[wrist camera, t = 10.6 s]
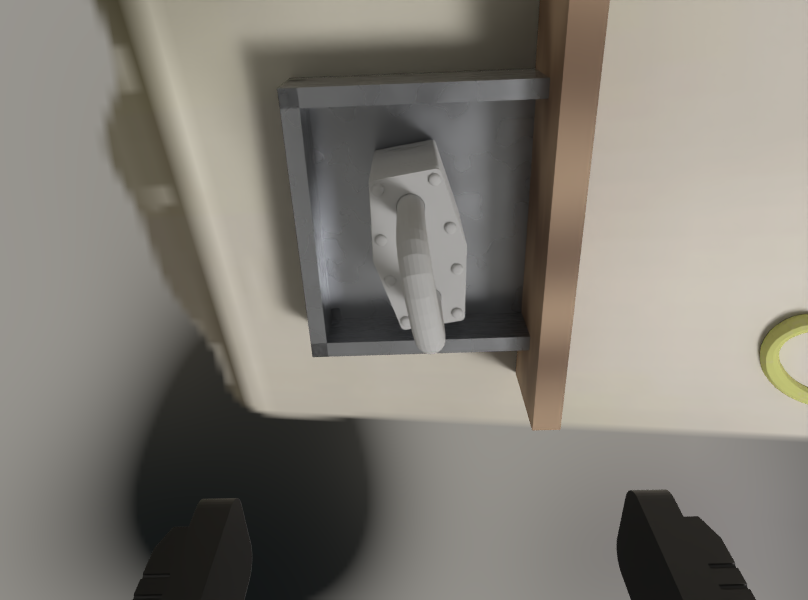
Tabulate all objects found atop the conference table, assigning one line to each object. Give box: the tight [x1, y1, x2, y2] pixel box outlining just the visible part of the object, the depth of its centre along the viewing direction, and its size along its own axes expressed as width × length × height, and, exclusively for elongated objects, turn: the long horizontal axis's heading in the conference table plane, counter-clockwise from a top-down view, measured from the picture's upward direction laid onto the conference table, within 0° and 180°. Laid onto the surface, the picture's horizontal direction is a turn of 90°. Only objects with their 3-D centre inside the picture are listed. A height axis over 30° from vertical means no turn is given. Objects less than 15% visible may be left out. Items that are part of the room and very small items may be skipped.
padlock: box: [369, 140, 467, 354], centre depth 24 cm, size 7×4×10 cm, turn 11°
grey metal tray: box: [277, 69, 550, 357], centre depth 28 cm, size 13×11×3 cm
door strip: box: [516, 0, 610, 430], centre depth 27 cm, size 20×1×5 cm, turn 2°
